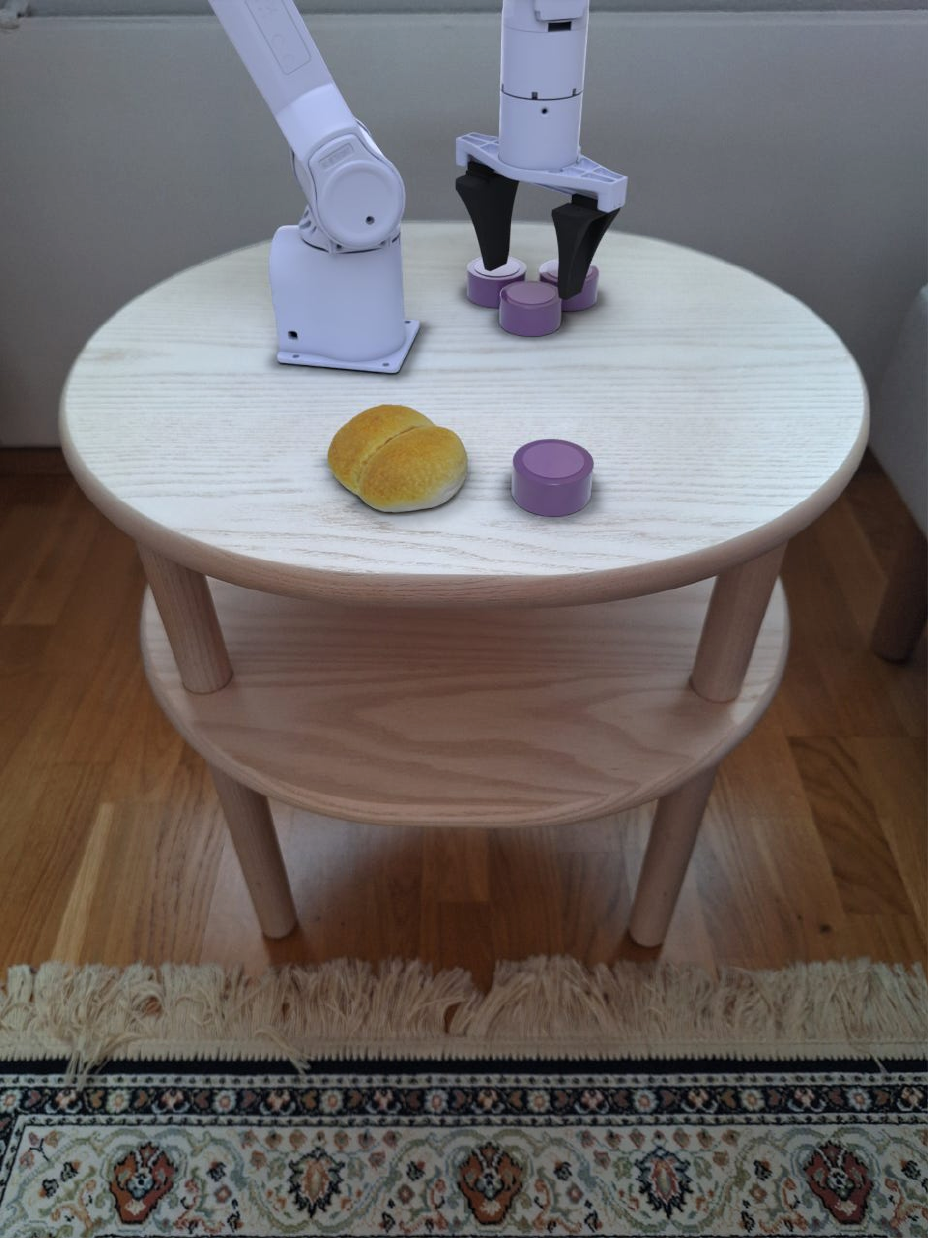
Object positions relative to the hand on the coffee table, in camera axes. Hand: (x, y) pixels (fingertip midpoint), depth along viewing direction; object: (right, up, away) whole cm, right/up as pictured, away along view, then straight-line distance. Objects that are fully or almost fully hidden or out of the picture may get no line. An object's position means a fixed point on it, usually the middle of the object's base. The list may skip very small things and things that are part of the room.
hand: (531, 280), depth 75 cm
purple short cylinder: (-3, +1, +6) cm, 7 cm away
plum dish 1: (0, -3, +2) cm, 3 cm away
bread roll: (-10, -18, -13) cm, 24 cm away
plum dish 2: (+3, +1, +6) cm, 7 cm away
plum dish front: (0, -19, -15) cm, 24 cm away
